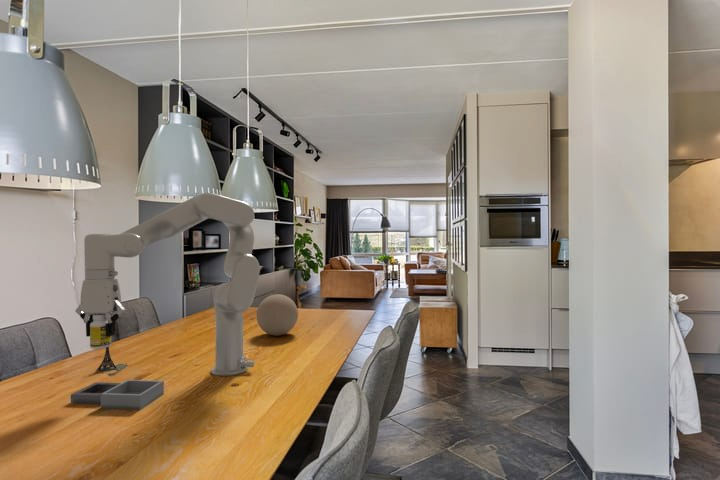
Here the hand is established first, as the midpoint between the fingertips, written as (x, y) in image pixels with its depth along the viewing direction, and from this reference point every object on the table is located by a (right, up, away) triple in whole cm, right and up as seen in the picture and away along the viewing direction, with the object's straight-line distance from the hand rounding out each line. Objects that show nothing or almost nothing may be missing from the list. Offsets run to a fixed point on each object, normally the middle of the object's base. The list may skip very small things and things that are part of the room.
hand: (100, 334), depth 122 cm
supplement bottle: (0, -4, 0) cm, 4 cm away
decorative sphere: (+37, -19, +79) cm, 89 cm away
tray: (+11, -19, -3) cm, 22 cm away
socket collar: (0, -18, 0) cm, 18 cm away
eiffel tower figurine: (-14, -19, +26) cm, 35 cm away
